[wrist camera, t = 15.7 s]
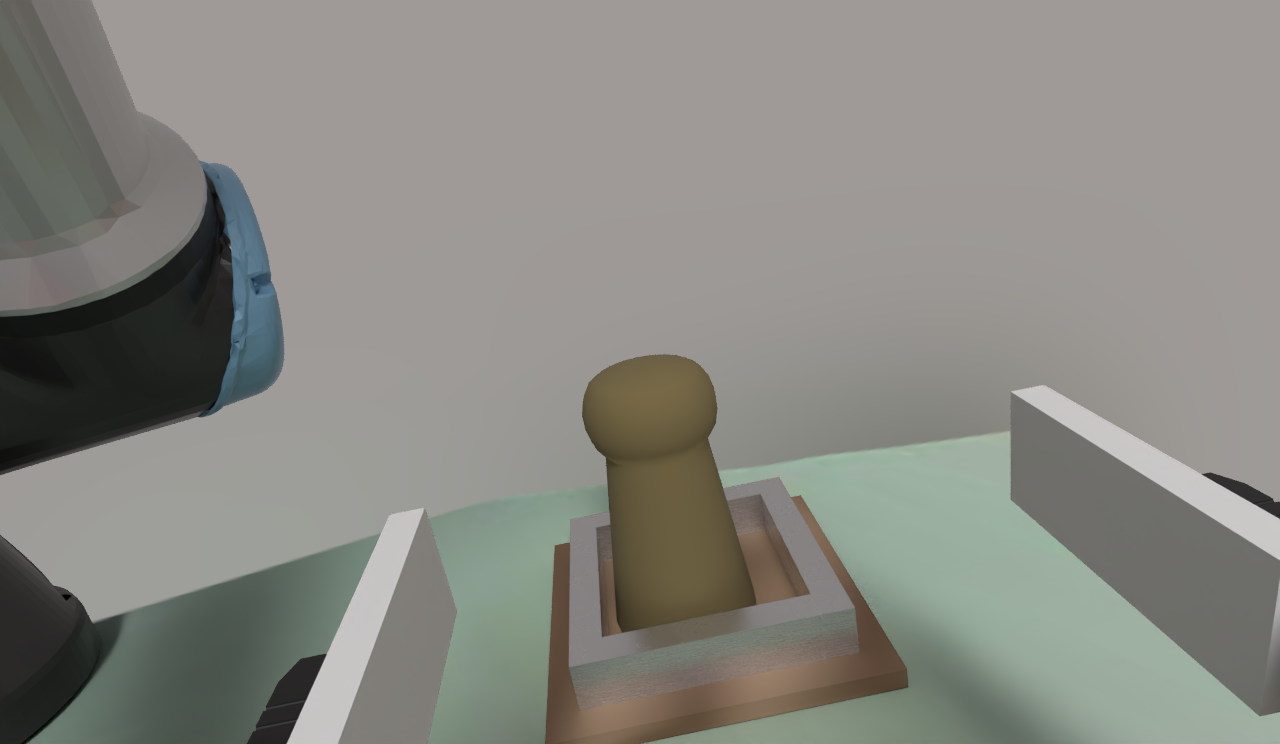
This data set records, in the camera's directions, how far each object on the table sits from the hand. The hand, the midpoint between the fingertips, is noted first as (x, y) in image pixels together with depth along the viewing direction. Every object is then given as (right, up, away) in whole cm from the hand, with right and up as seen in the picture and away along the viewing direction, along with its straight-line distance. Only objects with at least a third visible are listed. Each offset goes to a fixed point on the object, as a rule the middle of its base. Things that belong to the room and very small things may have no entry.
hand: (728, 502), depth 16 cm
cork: (0, -7, +15) cm, 17 cm away
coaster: (+1, -8, +16) cm, 18 cm away
